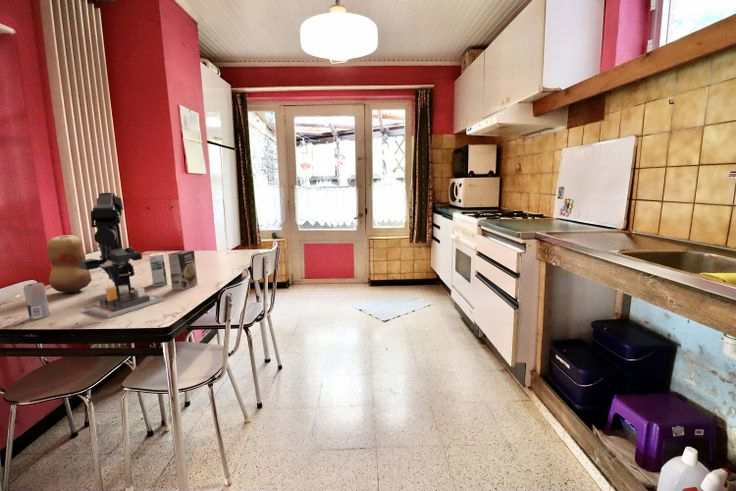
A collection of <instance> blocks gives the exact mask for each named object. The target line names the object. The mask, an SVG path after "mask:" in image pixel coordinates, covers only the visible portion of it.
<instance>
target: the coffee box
mask: <svg viewBox="0 0 736 491" xmlns="http://www.w3.org/2000/svg"><path fill="white" fill-rule="evenodd" d="M195 256H196V255H195V250H179V251H176V252H172V253H168V263H169V272H170V280H171V289H172V290H176V291H185V290H188V289H190V288H192V287H195V286H198V284H199V283H198V275H197V267H196V266H197V265H196V257H195Z"/></svg>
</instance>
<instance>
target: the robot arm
mask: <svg viewBox="0 0 736 491" xmlns="http://www.w3.org/2000/svg"><path fill="white" fill-rule="evenodd" d="M123 211H124V205H123V200H122V198H121V197H119V196H117V195H116V194H115V192H114V193H113V192H101V193H99V194H98V198H96V205H94V206H93V208H92V210H90V222H91V223H90V225H91V228H96V229H97V231H96V232H95V233H94V234H93V235H94V237H93V238H94V241H95V242H96V243H97V248H100V254H101V255H99V259H95V258H88V259H87V258H86V259H85V260H81V261H80V262H79V268H80V269H85V270H89V271H90V270H93V269H94V270H95V269H98V268H101V269H102V270H104V272H105V273H106V274H107V275H108V279H109V280H111V281H112V282H113V283H114V287H116V293H119V286H121V285H128V290H129V291H132V290H136V289H135V287H132V286H131V285H132V284H131V278H130V277H133V276H135V269H134V266H133V265H132V263H131V262H130V260H133V261H135V262H136V261H139V260H143V255H142V253H141V252H140V251H135V249H134V247H132V246H131V247H126V248H124V247H123V243H122V242H123V241H122V236H121V235H122V234H121V228H120V224H121V217H122V215H123Z"/></svg>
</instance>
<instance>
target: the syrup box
mask: <svg viewBox="0 0 736 491" xmlns="http://www.w3.org/2000/svg"><path fill="white" fill-rule="evenodd" d="M148 257H149V265H150V266H149V267H150V270H151V271H150V272H151V279H152V286H153V287H158V286H166V285H168V276H167V275H168V274H167V268H166V258H165V252H157V253H150V254H149V256H148Z"/></svg>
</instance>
